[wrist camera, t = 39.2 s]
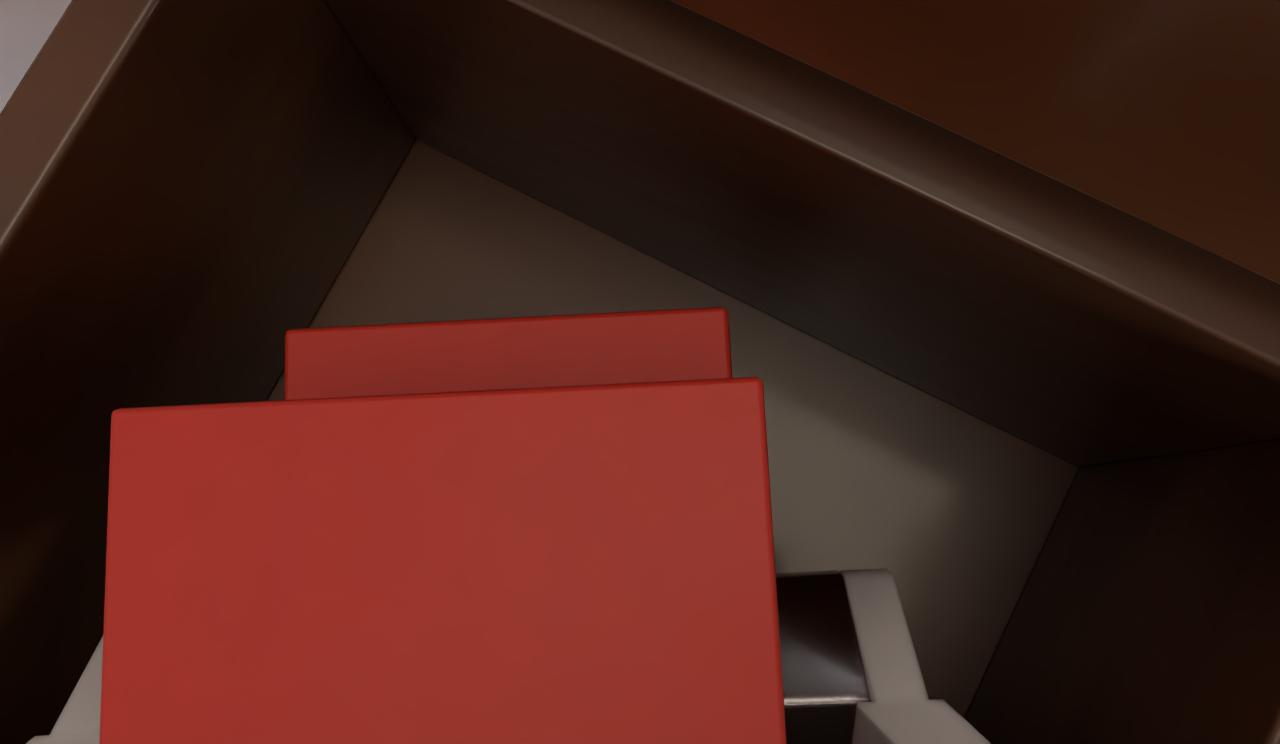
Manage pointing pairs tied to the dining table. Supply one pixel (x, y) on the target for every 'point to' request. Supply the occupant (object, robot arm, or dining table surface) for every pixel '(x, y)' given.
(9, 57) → the dining table surface
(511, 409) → the red stepped block
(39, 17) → the dining table surface
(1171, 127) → the chest lid
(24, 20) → the dining table surface
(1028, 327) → the toy chest
